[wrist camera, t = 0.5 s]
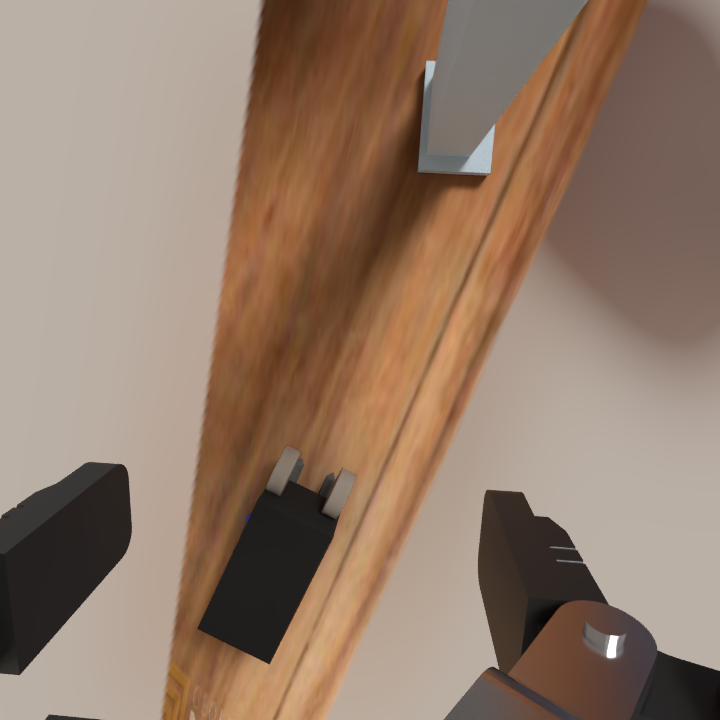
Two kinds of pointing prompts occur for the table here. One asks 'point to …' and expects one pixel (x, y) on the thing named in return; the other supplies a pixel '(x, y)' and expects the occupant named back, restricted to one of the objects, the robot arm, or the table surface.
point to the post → (482, 75)
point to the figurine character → (275, 559)
